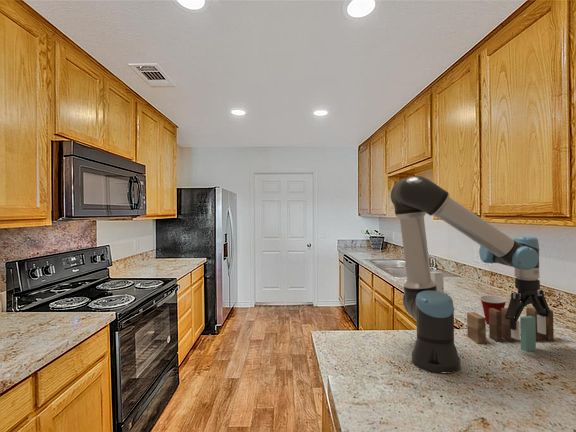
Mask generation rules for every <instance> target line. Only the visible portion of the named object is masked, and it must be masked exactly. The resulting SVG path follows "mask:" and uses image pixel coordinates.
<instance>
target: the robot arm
mask: <svg viewBox="0 0 576 432" xmlns="http://www.w3.org/2000/svg"><path fill="white" fill-rule="evenodd" d="M390 199H391V202H392V204H393V207H394V213H395V214H394V215H395V216H396V217H397V218H398V219H399V221H400V223H399V224H400V231H401V239H402V249H403V255H404V256H403V257H404V263H405V273H406V279H407V280H406V281H405V283H404V284H403V291H404V292H403V295H402V304H403V307H404V309H405V311H406V312H407V313H408V314H409V315H410V316H411V317H412V318H413V319H414V320H415V321H416V340H415V344H414V348H413V351H412V352H411V362H412V364H413V365H414V366H416V367H417V366H418V367H417V368H420V369H421V368H422V369H421V370H424V369H425V370H424V371H427V370H428V372H431V371H432V372H431V373H436V372H453V371H456V372H458V371H460V369H461V359H460V357H459V353H458V350H457V347H456V345H455V317H454V316H455V313H454V312H455V306H454V300H453V298H452V297H451V295H448V294H447V293H445V292H444V293H441V292H438V291H437V287H436V283H435V282H433V281H432V280H431V274H430V272H431V266H430V258H429V250H428V241H427V233H426V226H425V216H426V214H427V215H429V216H430V217H431V216H435V217H437V218H439V219H441V220H442V221H443V222H445V223H446V224H448V225H449V226H451V227H452V228H453V229H456V230H457V231H458V232H460V233H462V234H463V235H465V236H466V237H468V238H469V239H470V240H472V241H473V242H474V243H476V244H478V245H479V249H478V254H479V259H480V260H481V261H482V262H483V263H485V264H500V265H503V266H507V267H511V268H514V277H515V279H514V283H515V284H514V287H515V289H516V290H517V292H511V293H510V299H509V303H508V307H507V312H506V315H505V318H506V319H509V320H510V328H511V337H512V338H514V339H515V340H518V341H519V340H520V341H521V329H520V320H519V319H520V317H521V314H522V313H523V311H524V308H526V307H527V306H528V305H532V308H533V309H536V311H537V312H538V314H539V315H537V332H538V333H542V334H546V316H547V317H549V314H550V313H551V312H550V310H551V309H550V307H549V304H548V302H547V300H546V297H545V291H544V290H542V289H541V281H540V276H541V275H540V244H539V239H538V238H537V237H535V236H525V235H524V236H515V237H513V238H512V237H510V236H508V235H507V234H505V233H504V232H503V231H501V230H500V229H498V228H497V227H495V226H494V225H492V224H490V223H489V222H487V221H486V220H485V219H483V218H481V217H480V216H478V215H477V214H476V213H474V212H473V211H472V210H469V209H468V208H466V207H465V206H464V205H462V204H461V203H459V202H457V201H456V200H455V199H453V198H452V197H450V193H449V192H448V191H446V190H445V189H443V188H442V187H440V186H439V185H438V184H436V183H435V182H433V181H432V180H430V179H429V178H426V177H425V176H421V175H410V176H408V177H406V178H402V179H400V180H398V181H397V182H396V183H395V184H394V185H393V186H392V187H391V190H390ZM545 309H546V310H545ZM457 370H458V371H457ZM453 373H454V372H453Z"/></svg>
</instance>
